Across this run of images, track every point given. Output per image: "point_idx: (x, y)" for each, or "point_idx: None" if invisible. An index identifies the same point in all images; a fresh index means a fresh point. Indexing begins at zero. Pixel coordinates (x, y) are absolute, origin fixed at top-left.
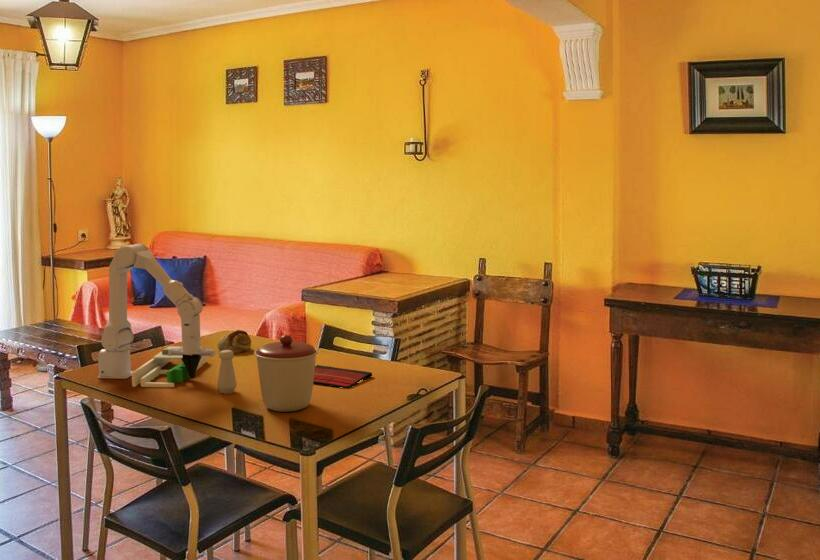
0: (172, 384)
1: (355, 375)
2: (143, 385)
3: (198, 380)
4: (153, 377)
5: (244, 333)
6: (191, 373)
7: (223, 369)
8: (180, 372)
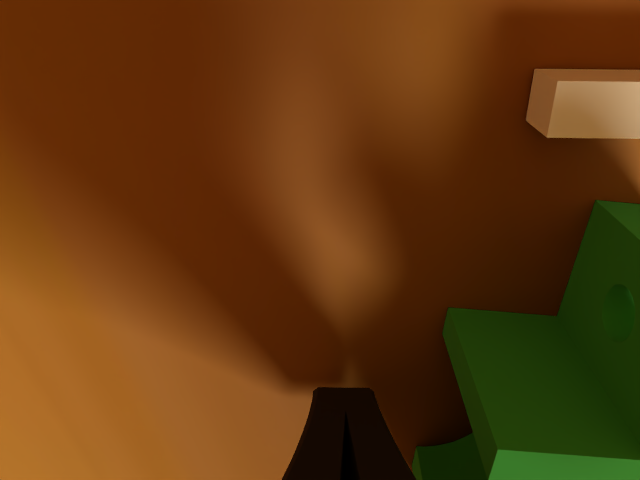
0: (566, 78)
1: None
2: None
3: (270, 401)
4: None
5: None
6: (336, 430)
7: None
8: (512, 412)
